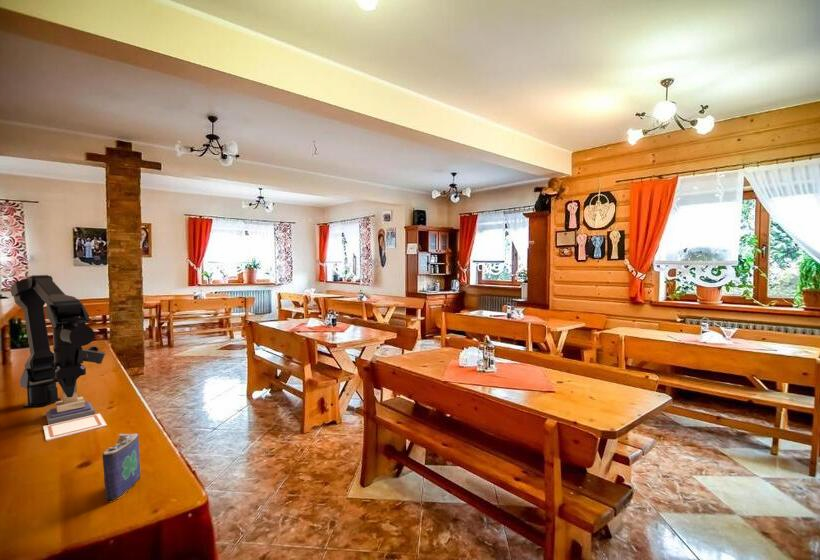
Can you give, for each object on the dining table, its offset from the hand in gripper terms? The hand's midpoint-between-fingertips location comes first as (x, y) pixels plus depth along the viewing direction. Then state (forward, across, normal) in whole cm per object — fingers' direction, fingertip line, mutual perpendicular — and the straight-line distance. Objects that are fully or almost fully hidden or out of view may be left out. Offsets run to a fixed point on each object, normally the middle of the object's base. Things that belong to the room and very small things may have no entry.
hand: (69, 395), depth 113 cm
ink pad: (+6, 0, 0) cm, 6 cm away
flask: (+6, -58, -3) cm, 59 cm away
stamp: (+4, 0, 0) cm, 4 cm away
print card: (+6, -13, 0) cm, 14 cm away
